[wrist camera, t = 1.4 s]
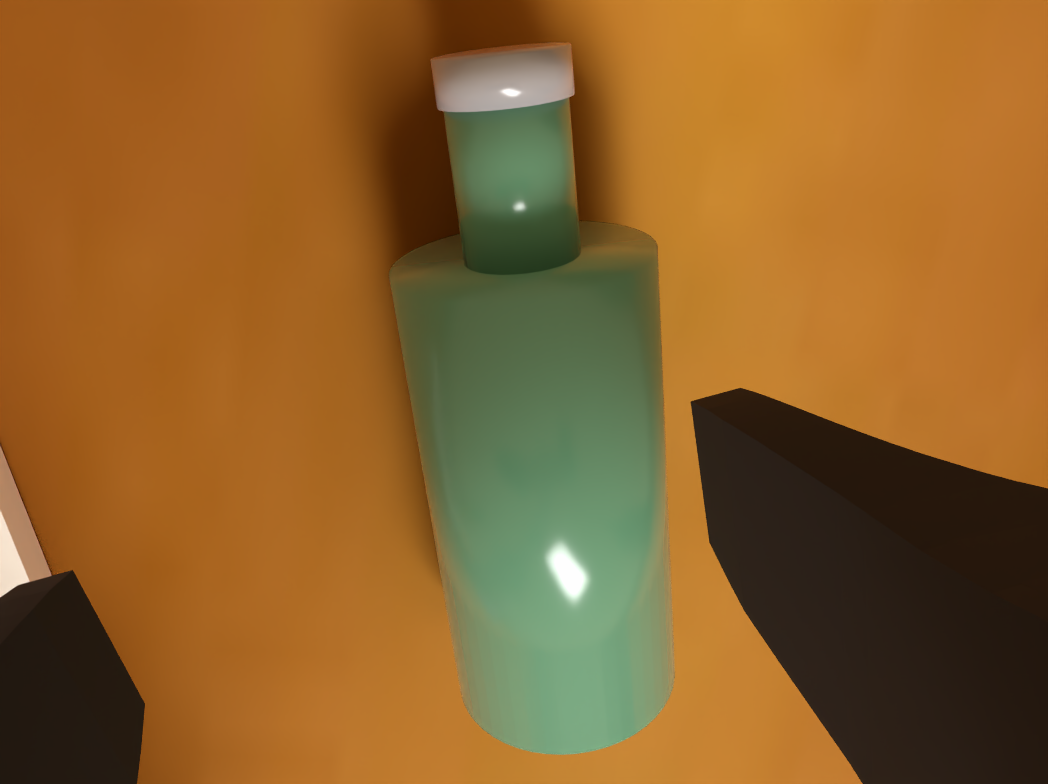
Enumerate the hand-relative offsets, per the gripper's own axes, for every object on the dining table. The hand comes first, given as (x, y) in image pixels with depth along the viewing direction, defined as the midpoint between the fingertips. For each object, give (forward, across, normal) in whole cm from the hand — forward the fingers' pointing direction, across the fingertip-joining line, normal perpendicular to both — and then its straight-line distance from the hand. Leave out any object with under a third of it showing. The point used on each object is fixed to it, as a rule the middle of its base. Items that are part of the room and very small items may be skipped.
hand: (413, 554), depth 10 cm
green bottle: (+10, -2, +2) cm, 10 cm away
